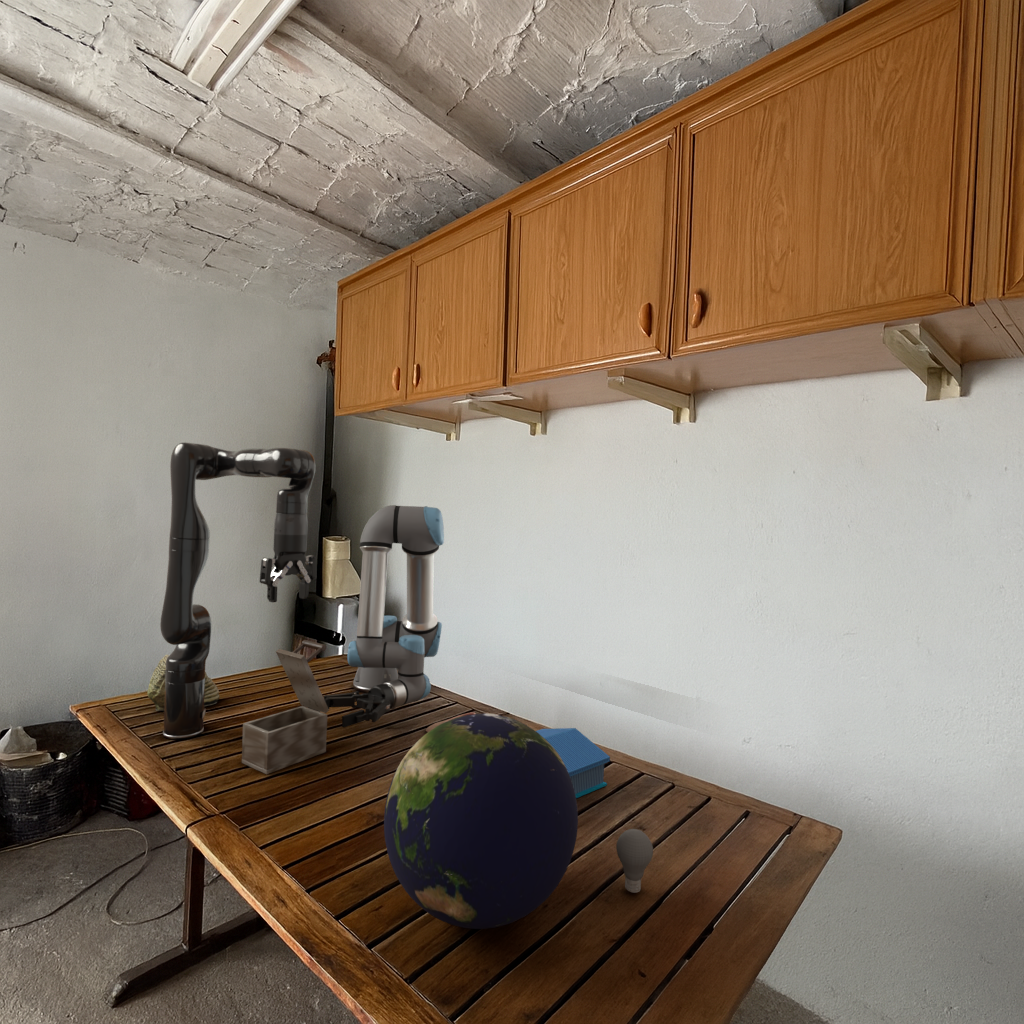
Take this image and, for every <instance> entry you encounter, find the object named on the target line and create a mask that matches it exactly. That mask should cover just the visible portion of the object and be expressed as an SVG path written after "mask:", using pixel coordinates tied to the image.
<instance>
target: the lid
mask: <svg viewBox="0 0 1024 1024" xmlns="http://www.w3.org/2000/svg"><path fill="white" fill-rule="evenodd" d="M305 647H306V648H310V649H313V650H315V651H314V652H312V653H311V654H310V655H309V656H308V657H307V658H306V655H303V654H300V653H298V652H300V651H301V650H302V649H303V648H305ZM326 650H327V645H326V644H323V643H320V642H316V641H311V640H307V639H303V640H302V642H301V643H300V645H299V646H297V648H295V649H294V650H293V651H289V650H285V649H281V648H278V649H277V650H276V651H275V654H276V656H277V657H278V660H279V661H280V664H281V666H282V668H283V670H284V672H285V674H286V676H287V679H288V681H289V682H290V685H291V687H292V689H293V691H294V693H295V695H296V697H297V700H298V702H299V704H300V705H301V706H304V707H307V708H308V707H309V708H312V709H315V710H318V711H320V712H322V713H325V714H327V713H328V712H329V711H330V708H329V709H328V707H327V705H326V702H325V700H324V695H323V694H322V692H321V689H320V686H319V685H318V682H317V680H316V678H315V675H314V674H313V671H312V669H311V667H310V665H309V662H310V661H312V660H313V659H314V658H315V657H316V656H317V655H319V654H320V653H321V652H325V651H326Z"/></svg>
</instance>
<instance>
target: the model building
mask: <svg viewBox="0 0 1024 1024" xmlns="http://www.w3.org/2000/svg"><path fill="white" fill-rule="evenodd" d="M535 731H536V732H537V733H539V734H540V735H541V736H542V737H543V738H545V739H546V740H547V741H548V742H549V743H550V745H551V746H552V747H553V748H554V749H555V750H556V751H557V753H558V754H559V756H560V757H561V759H562V761H563V763H564V764H565V766H566V768H567V771H568V773H569V775H570V778H571V781H572V784H573V787H574V791H575V795H576V799H578V798H580V797H582V796H586V795H588V794H591V793H592V792H594V791H597V790H599V789H602V788H604V787H606V786H608V783H607V782H606V781H604V776H605V764H607V763H609V762H611V756H610V755H608V754H607V753H606V752H605V751H604V750H602V749H601V748H600V746H598V745H596V744H595V743H594V742H593V741H592V740H591V739H589V738H588V737H587V736H586V735H584V734H583V733H582V732H581V731H579V730H578V729H577V728H576V727H568V728H567V727H564V728H563V727H562V728H561V727H560V728H541V729H537V730H535Z"/></svg>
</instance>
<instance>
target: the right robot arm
mask: <svg viewBox="0 0 1024 1024" xmlns="http://www.w3.org/2000/svg"><path fill="white" fill-rule="evenodd" d="M444 531H445V530H444V519H443V514H442V511H441V509H439V508H438V507H434V506H433V507H431V506H427V505H426V506H417V505H416V506H413V505H397V504H392V505H391V504H390V505H387V506H383V507H381V508H380V509H378V510H377V511H376V512H374V513H373V514H372V515H371V516H370V518H369V519H368V520H367V522H366V524H365V525H364V528H363V530H362V532H361V535H360V540H359V549H360V551H361V552H362V558H361V572H360V585H359V600H358V612H357V613H358V614H357V625H356V639H355V640H351V641H350V642H349V644H348V649H347V653H346V654H347V656H346V657H347V664H348V665H349V666H350V667H351V668H357V670H356V673H355V674H354V675H355V676H354V677H353V678H354V679H353V683H352V688H353V689H354V690H356V691H352V692H345V693H337V694H336V693H335V694H334V693H333V694H325V695H323V698H324V700H325V702H326V705H327V707H328V709H329V710H330V708H346V707H347V708H349V707H351V708H352V709H359V710H357V711H354V712H351V713H348V714H345V715H342V716H341V727H342V728H348V727H349V726H353V725H356V724H359V723H361V722H369V721H371V722H372V723H376V722H377V721H379V719H380V718H382V716H384V715H385V714H387V713H388V712H390V711H391V710H393V711H394V710H395V709H396V708H399V707H402V706H405V705H408V704H411V703H415V702H419V701H420V700H422V699H424V698H427V697H428V695H429V694H430V693H431V689H432V683H431V682H430V678H429V676H428V675H427V674H426V673H424V671H425V658H434V657H436V656H437V655H438V652H439V648H440V641H441V634H442V628H443V624H442V622H440V621H439V620H438V617H437V615H436V614H435V613H434V592H435V591H434V589H435V587H434V585H435V583H434V579H435V554H436V553H438V551H439V550H440V546H443V545H444V543H445V532H444ZM393 544H400V545H401V550H402V552H403V553H405V554H406V614H405V615H404V616H403V617H402V620H398V618H397V616H396V615H385V605H386V593H387V592H386V591H387V580H388V579H387V578H388V576H387V575H388V561H389V553H391V552H392V551H393ZM360 693H361V694H360ZM307 708H309V707H307ZM310 709H312V708H310ZM313 710H315V709H313ZM316 711H318V710H316ZM319 712H320V711H319Z"/></svg>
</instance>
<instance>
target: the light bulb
mask: <svg viewBox="0 0 1024 1024" xmlns="http://www.w3.org/2000/svg"><path fill="white" fill-rule="evenodd" d="M615 849H616V854H617V857H618V859H619V861H620V863H621V865H622V867H623V873H624V874H623V875H624V876H625V878H624V888H625V890H627V891H628V892H630V893H634V894H635V893H639V892H640V891H641V889H642V887H641V886H642V879H643V877H644V875H645V871H646V868H647V867H648V866H649V864H650V863H651V861H652V859H653V855H654V847H653V843H652V841H651V838H649V836H648V835H647V834H646V833H645V832H643V831H642V830H641V829H636V828H629V829H627V830H625V831H623V832H622V833H621V834H620V835H619V837H618V839H617V841H616V847H615Z"/></svg>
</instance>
